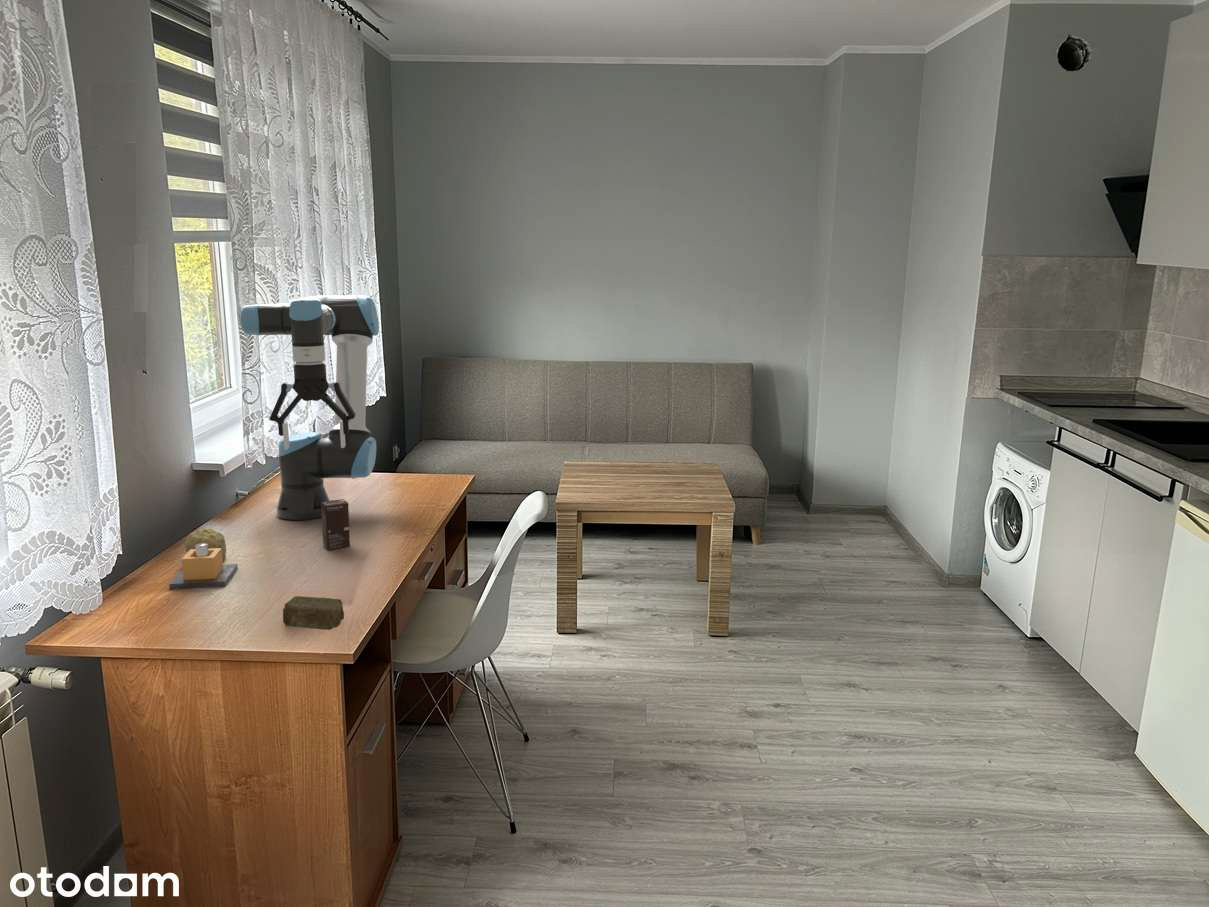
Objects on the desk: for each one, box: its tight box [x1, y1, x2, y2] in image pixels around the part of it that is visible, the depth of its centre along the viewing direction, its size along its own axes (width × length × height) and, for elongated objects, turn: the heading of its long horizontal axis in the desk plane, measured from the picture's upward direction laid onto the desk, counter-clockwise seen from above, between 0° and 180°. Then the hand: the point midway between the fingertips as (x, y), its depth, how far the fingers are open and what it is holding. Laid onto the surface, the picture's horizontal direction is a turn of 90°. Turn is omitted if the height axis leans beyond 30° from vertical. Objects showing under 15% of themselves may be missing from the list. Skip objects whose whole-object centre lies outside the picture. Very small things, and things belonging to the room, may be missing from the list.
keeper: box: [168, 543, 239, 590], centre depth 214 cm, size 12×12×8 cm
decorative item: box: [184, 527, 227, 561], centre depth 227 cm, size 10×10×10 cm
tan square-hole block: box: [181, 548, 224, 580], centre depth 214 cm, size 7×7×5 cm
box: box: [321, 498, 351, 551], centre depth 236 cm, size 6×4×12 cm
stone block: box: [282, 595, 345, 631], centre depth 189 cm, size 6×12×5 cm, turn 80°
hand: (315, 447), depth 230 cm, fingers open, 13 cm apart
